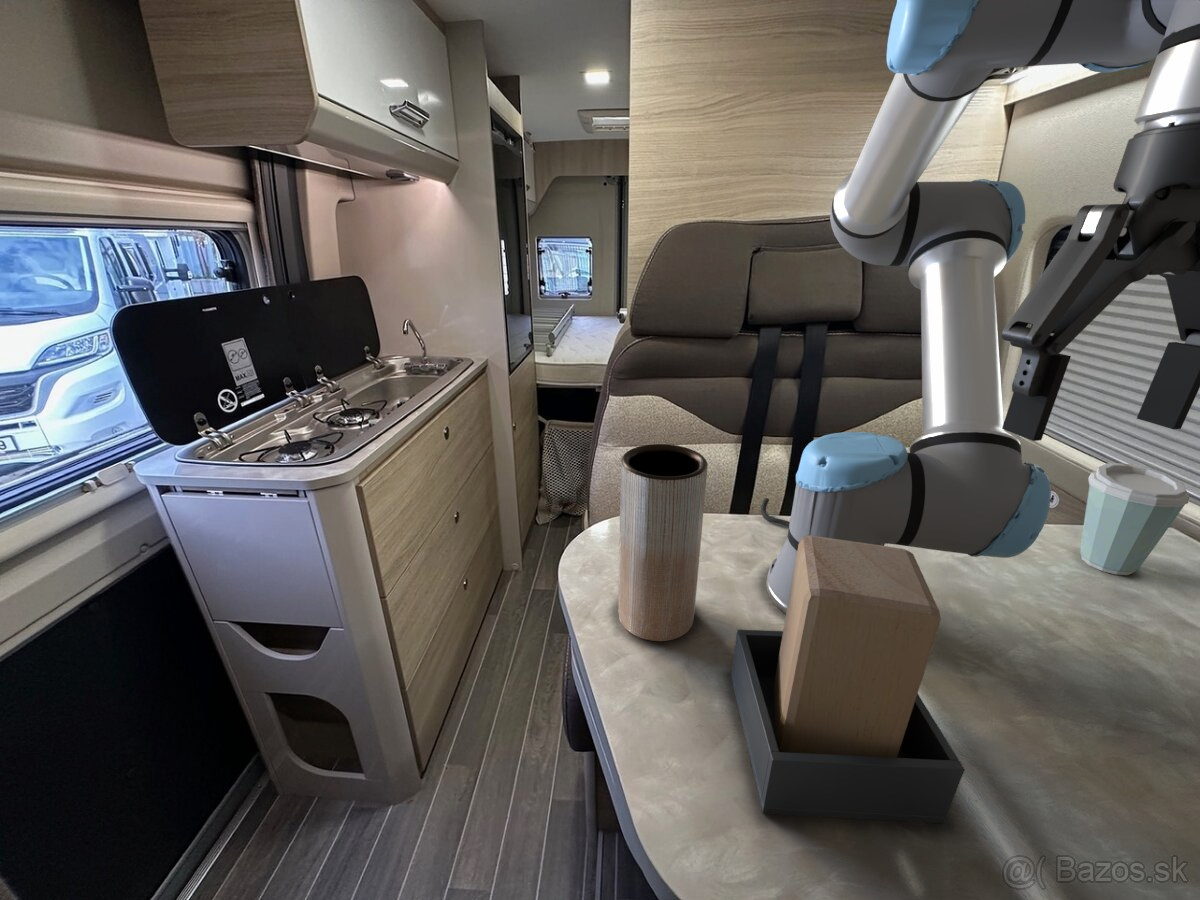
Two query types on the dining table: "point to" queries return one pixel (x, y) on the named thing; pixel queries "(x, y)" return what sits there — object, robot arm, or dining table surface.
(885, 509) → the robot arm
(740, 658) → the tote
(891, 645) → the wooden block
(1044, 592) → the dining table surface
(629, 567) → the planter
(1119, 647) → the dining table surface
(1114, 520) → the disposable coffee cup
